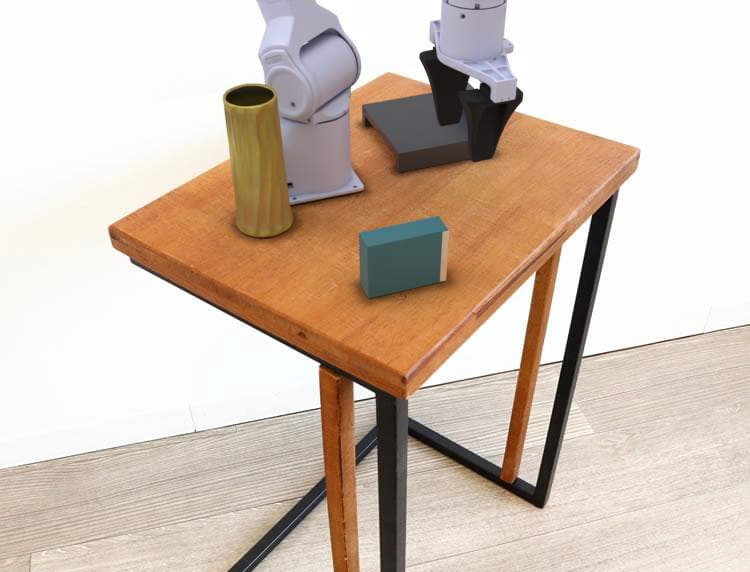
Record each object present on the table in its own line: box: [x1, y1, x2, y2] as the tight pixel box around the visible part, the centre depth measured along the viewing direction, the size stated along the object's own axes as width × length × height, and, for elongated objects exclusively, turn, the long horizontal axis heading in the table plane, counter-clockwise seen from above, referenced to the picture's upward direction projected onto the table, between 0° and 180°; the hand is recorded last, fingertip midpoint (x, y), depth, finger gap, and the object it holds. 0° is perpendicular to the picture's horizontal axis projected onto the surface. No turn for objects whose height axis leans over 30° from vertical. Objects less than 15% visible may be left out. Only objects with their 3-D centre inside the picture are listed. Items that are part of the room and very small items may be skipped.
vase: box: [222, 82, 295, 238], centre depth 85 cm, size 6×6×14 cm
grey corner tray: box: [361, 82, 475, 174], centre depth 101 cm, size 12×13×6 cm
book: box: [358, 215, 450, 299], centre depth 80 cm, size 3×8×6 cm, turn 110°
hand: (464, 140), depth 83 cm, fingers open, 7 cm apart
